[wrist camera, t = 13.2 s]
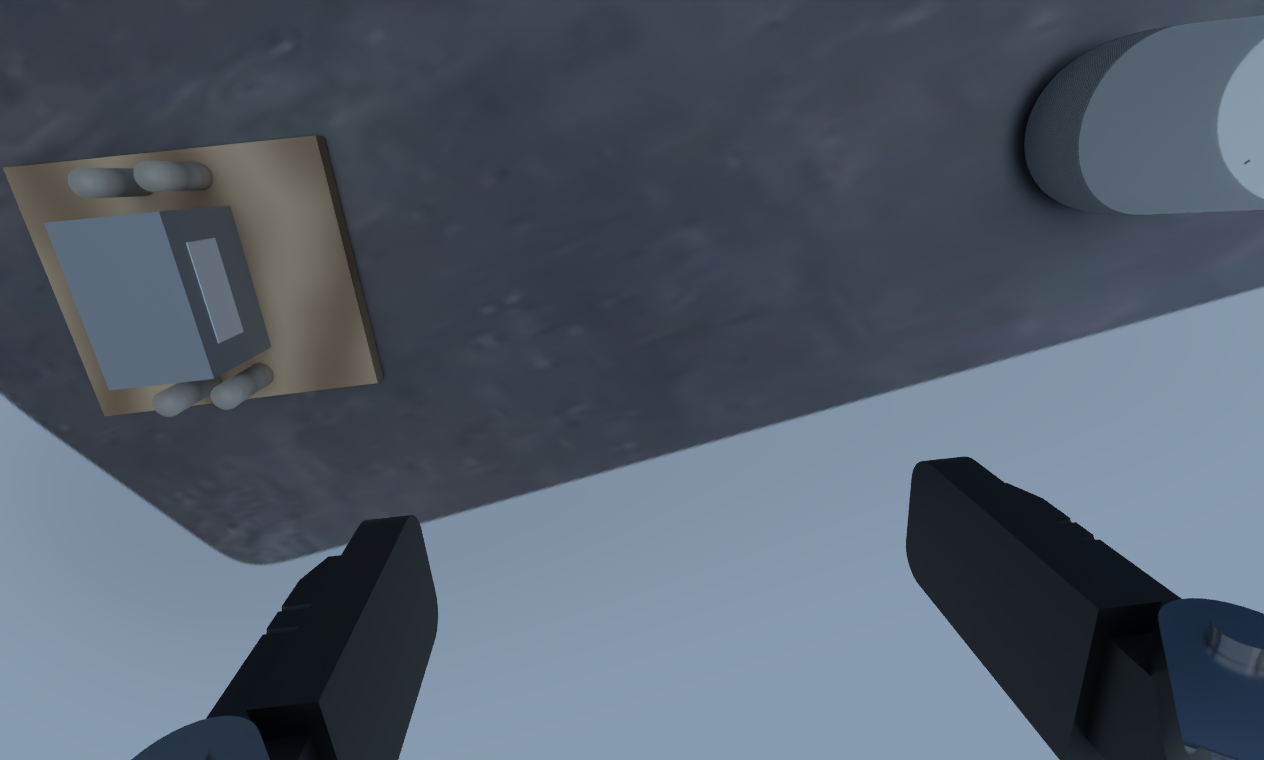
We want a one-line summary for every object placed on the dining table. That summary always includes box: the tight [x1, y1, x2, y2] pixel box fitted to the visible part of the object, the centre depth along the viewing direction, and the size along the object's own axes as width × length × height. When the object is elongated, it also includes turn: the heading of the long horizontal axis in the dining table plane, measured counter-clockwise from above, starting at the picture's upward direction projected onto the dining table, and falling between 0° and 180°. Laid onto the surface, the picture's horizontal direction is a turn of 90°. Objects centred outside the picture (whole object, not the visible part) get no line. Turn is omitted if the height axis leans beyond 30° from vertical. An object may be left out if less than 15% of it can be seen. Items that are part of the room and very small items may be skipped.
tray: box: [3, 135, 383, 417], centre depth 33 cm, size 16×14×5 cm
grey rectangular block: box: [44, 206, 271, 391], centre depth 32 cm, size 5×8×6 cm, turn 5°
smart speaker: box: [1024, 15, 1264, 215], centre depth 31 cm, size 10×9×14 cm
